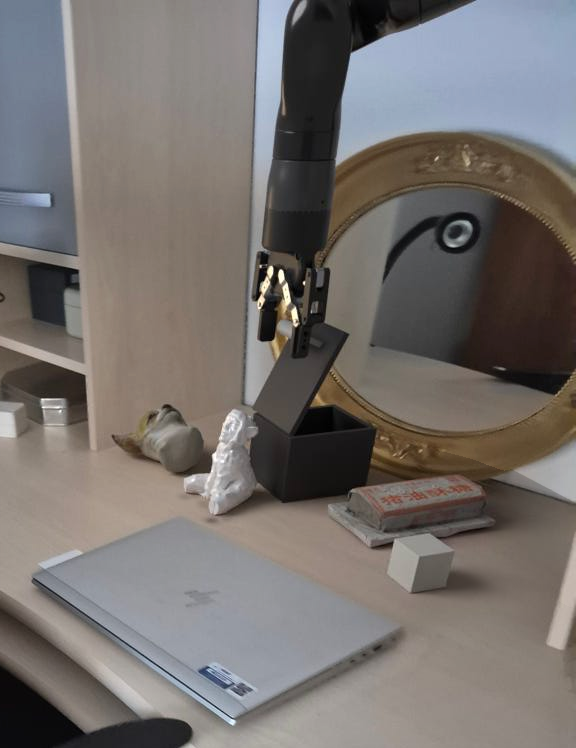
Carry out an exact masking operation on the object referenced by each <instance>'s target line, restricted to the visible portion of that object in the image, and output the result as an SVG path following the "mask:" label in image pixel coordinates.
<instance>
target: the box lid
mask: <svg viewBox="0 0 576 748" xmlns="http://www.w3.org/2000/svg"><path fill="white" fill-rule="evenodd" d="M300 313H301V315H302V312H300ZM293 326H294V324H293V321H291V320H288V319H287V318H283V319H281V320H279V321H278V322H277V325H276V331H277V333H278V334H280V335H281V336H284V337H286V338H287V340H286V341H285V344H284V345H283V348H282V350H281V352H280V353H279V355H278V357H277V359H276V361H275V363H274V365H273V366H272V369H271V371H270V373H269V374H268V377H267V378H266V380H265V382H264V384H263V385H262V388H261V390H260V392H259V394H258V395H257V398H256V399H255V401H254V403H253V405H252V407H251V409H252V410H253V411H254V412H255V413H259V414H260V415H262V416H263V417H265V418H266V419H268V420H269V421H270V422H272V423H273V424H275V425H276V426H278V427H279V428H281V429H282V430H284V431H285V432H286V433H288V434H289V435H292V436H294V435H295V433H296V431H297V429H298V427H299V425H300V424H301V422H302V420H303V418H304V416H305V415H306V413H307V411H308V409H309V407H312V406H311V405H312V404H313V402H314V400H315V399H316V396H317V395H318V392H319V391H320V389H321V388H322V386H323V384H324V382H325V380H326V378H327V377H328V375H329V372H330V371H331V369H332V367H333V366H334V365H335V362H336V360H337V358H338V357H339V355H340V353H341V351H342V349H343V348H344V346H345V344H346V342H347V340H348V339H349V337H350V335H351V334H350V333H349V332H346V331H345V330H342V329H340V328H337V327H336V326H333V325H331V324H328V323H326V322H324V323H318V324H315V325H313V327H312V331H311V338H310V345H309V351H308V355H307V357H306V358H299V359H293V358H291V357H290V356H289V351H290V343H291V335H292V327H293Z"/></svg>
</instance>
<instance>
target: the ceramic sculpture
mask: <svg viewBox="0 0 576 748" xmlns="http://www.w3.org/2000/svg"><path fill="white" fill-rule="evenodd" d="M110 437H111V439H112V441H113V442H114V444H115V445H117V446H118V447H119V448H120V449H121V450H123V451H124V452H127V453H129V454H142V455H144V456H145V457H147V458H149V459H152V460H154V461H157V462H160V464H161V465H162V468H164V469H165V470H166V471H167V472H171V473H173V472H174V473H184V472H186V471H187V470H189V469H191V468H193V467H194V466H196V465H197V463H198V462H199V461H200V458H201V457H202V454H203V449H204V444H205V440H204V439H203V438H204V437H203V435H202V432H201V431H200V430H199V428H198V427H197V426H193V425H192V426H190V425H189V426H188V424H187V422H186V420H185V419H184V418H183V415H182V413H181V412H180V410H179V409H177V408H175V407H173V406H172V405H171V404H169V403H164V404H163V405H162V407H161V408H157V409H152V410H149V411H147V412H146V413H144V414H143V415H142V416H141V418H140V419H139V421H138V425H137V429H136V430H135V433H133V432H128V433H124V434H122V435H119V434H111V435H110Z"/></svg>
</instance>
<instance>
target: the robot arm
mask: <svg viewBox="0 0 576 748" xmlns="http://www.w3.org/2000/svg"><path fill="white" fill-rule="evenodd" d="M476 1H477V0H292V2H291V5H290V6H289V9H288V11H287V14H286V16H285V17H286V18H285V23H284V29H283V30H284V31H283V43H282V44H283V46H282V58H281V59H282V61H281V62H282V63H281V77H280V78H281V79H280V80H281V81H280V101H279V105H278V109H277V114H276V119H275V126H274V136H273V144H272V145H273V146H272V155H271V163H270V168H269V174H268V178H267V184H266V193H265V194H266V195H265V203H264V215H263V222H262V223H263V225H262V234H261V246H262V248H263V249H264V250H259V251H257V252H256V254H255V255H256V256H255V263H254V272H253V280H252V287H251V294H250V297H251V301H252V303H254V302H256V308H257V310H258V311H259V317H258V326H257V334H256V335H257V336H256V337H257V340H258V341H259V342H261V343H267V342H268V343H269V342H273V341H274V340H275V338H276V331H277V324H278V317H279V316H278V315H279V310H277V309H278V308H279V306H280V304H281V302H282V300H283V301H284V303H285V307H286V308H287V309H288V310H289V311H290V313H291V318H292V319H291V320H292V322H293V324H294V326H293V327H292V335H291V343H290V351H289V356H290V357H291V358H293V359H299V358H306V357H307V355H308V351H309V345H310V338H311V331H312V327H313V325H315V324H318V323H325V321H326V315H327V306H328V298H329V297H328V296H329V290H330V289H329V288H330V279H331V268H330V267H329V266H327V267H316V255H317V254H318V253H319V252H322V251H324V250H325V249H326V247H327V245H328V237H329V230H330V224H331V217H332V209H333V201H334V195H335V187H336V167H337V166H336V165H337V155H338V149H339V143H340V142H339V140H340V133H341V125H342V111H343V109H342V107H343V103H342V102H343V96H344V92H345V86H346V82H347V78H348V77H347V76H348V73H349V72H348V71H349V66H350V61H351V55H352V54H353V53H355V52H357V51H359V50H362V49H364V48H365V47H367V46H370V45H371V44H373V43H375V42H378V41H379V40H382V39H383V38H385V37H388V36H389V35H393V34H396V33H400V32H401V33H402V32H405V31H407V30H411V29H413V28H415V27H418V26H420V25H423V24H425V23H428V22H431V21H433V20H435V19H437V18H440V17H442V16H444V15H446V14H448V13H451V12H454V11H456V10H458V9H461V8H462V7H465V6H467V5H470V4H472V3H473V2H476ZM261 284H262V285H261ZM316 303H317V309H315V304H316ZM301 309H302V310H301ZM301 313H302V315H301Z"/></svg>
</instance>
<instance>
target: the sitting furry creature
mask: <svg viewBox="0 0 576 748" xmlns="http://www.w3.org/2000/svg"><path fill="white" fill-rule="evenodd" d="M255 424H256V423H255V422H253V416H251V415H249V414H247V413H246V412H244V411H243V410H238V409H237V408H235V409H232V410H231V411H230V412H229V413H228V414H227V416H225V421H224V422H223V423H222V428H221V431H220V436H219V437H218V441H219V443H218V445H217V446H216V451H214V453H212V455H211V458H212V459H211V460H212V465H211V470H210V472H208V473H196V474H195V473H194V474H192V475H189V476H187V477H184V478H183V490H184V493H186V494H190V495H191V494H197V495H199V496H201V497H203V498H204V499H205V500H206V501H209V503H208V510H209V513H210V515H213V516H217V515H218V516H219V515H222V514H227V513H228V511H231V510H232V509H234V508H236V507H238V506H239V505H241V504H242V503H243V502H245V501H247V500H248V499H249V498H250V497H252V496H253V492H254V490H255V489H256V486H257V484H258V482H257V480H256V477H255V473H254V472H253V468H252V467H251V463H250V457H249V450H248V449H247V447H246V446H245V445H247V444H248V443H249V442H251V438H253V437H255V435H257V434H258V427H255Z"/></svg>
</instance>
